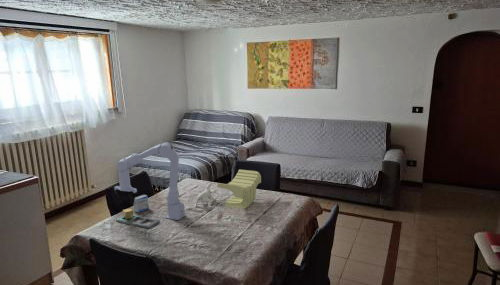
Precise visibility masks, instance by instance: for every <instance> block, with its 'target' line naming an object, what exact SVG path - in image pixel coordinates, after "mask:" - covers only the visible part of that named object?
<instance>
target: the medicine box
mask: <svg viewBox="0 0 500 285" xmlns="http://www.w3.org/2000/svg"><path fill="white" fill-rule="evenodd" d="M149 206H150V205H149V196H148V195H147V194H142V195H139V196H135V200H134V204H133V212H135V213H138V214H139V213H141V211H142V212H144V211H147V210H148V209H150V207H149ZM146 209H147V210H146Z"/></svg>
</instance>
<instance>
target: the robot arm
mask: <svg viewBox="0 0 500 285" xmlns="http://www.w3.org/2000/svg"><path fill="white" fill-rule="evenodd" d="M153 155H157V156H159V155H160V156H162V157H164V158H167V160H169V161H170V163H169V164H170V166H169V184H168V192H167V197H166V205H167V206H166V207H167V215H166V216H165V217H164V218H166V219H170V220H176V221H179V220H181V219H182V218H183V217H185V216H186V215H187V214H186V210H185V204H184V203H182V202H181V200H180V198H179V196H180V192H179V187H178V184H179V183H178V182H179V181H178V180H179V164H180V156H179V154H178V153H177V151H176V149H175V147H174V145H173V144H171V142H167V141H165V142H162V143H159V144H156V145H154V146H153V147H150V148H148V149H147V150H144V151H143V152H141V153H137V152H135V153H133V152H132V153H131V154H130V156H127V157H123V158H122V159H121V158H120V160H119V161H118V162H117V163H116V169H117V172H118V182H119V185H115V186H113V189H114V194H115V195H116V197H117V198H118V202H119V203H120V204H121V203H123V202H124V199H125V198H124V193H125V192H128V193H127V196H128V199H129V204H130V205H134V200H135V198H136V197H137V194H138V190H137V188H135V187H132V185H131V177H130V169H129V168H132V167H133V166H135V165H138V164H140V163H141V162H142V160H143V159H146V158H148V157H150V156H153Z"/></svg>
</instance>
